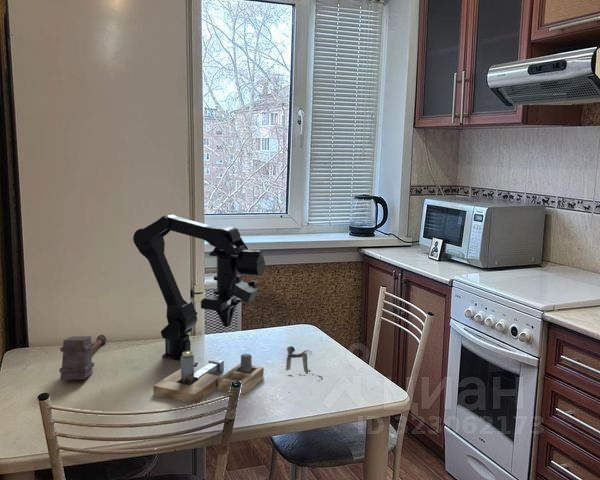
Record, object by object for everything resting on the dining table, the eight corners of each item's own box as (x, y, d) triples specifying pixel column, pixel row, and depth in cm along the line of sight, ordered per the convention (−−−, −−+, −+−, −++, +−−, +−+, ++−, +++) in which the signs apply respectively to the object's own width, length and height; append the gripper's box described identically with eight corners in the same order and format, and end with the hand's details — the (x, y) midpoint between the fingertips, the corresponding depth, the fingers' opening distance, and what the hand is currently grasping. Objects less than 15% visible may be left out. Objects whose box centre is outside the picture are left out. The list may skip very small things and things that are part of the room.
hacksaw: (287, 349, 178) (287, 345, 177) (320, 350, 178) (320, 345, 177) (284, 382, 154) (284, 376, 154) (323, 382, 154) (323, 377, 154)
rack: (217, 390, 147) (217, 365, 146) (240, 373, 158) (240, 349, 156) (242, 395, 144) (242, 369, 143) (263, 378, 155) (263, 353, 154)
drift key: (188, 384, 150) (187, 374, 149) (212, 367, 161) (212, 358, 160) (199, 386, 148) (199, 376, 148) (223, 370, 160) (223, 360, 159)
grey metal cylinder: (178, 391, 146) (178, 353, 144) (185, 386, 149) (185, 349, 147) (189, 393, 144) (189, 355, 143) (196, 388, 147) (196, 351, 146)
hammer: (58, 380, 147) (59, 340, 148) (91, 357, 180) (92, 325, 180) (85, 379, 148) (86, 340, 148) (114, 357, 181) (114, 325, 181)
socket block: (153, 394, 143) (153, 385, 143) (181, 377, 154) (181, 368, 154) (195, 404, 139) (195, 394, 138) (220, 385, 150) (220, 376, 149)
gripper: (236, 282, 149) (236, 340, 151) (267, 268, 166) (267, 321, 168) (199, 278, 153) (199, 334, 156) (233, 264, 170) (233, 316, 173)
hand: (227, 326), depth 163 cm, fingers closed
